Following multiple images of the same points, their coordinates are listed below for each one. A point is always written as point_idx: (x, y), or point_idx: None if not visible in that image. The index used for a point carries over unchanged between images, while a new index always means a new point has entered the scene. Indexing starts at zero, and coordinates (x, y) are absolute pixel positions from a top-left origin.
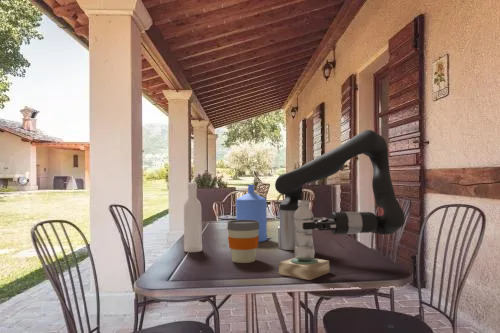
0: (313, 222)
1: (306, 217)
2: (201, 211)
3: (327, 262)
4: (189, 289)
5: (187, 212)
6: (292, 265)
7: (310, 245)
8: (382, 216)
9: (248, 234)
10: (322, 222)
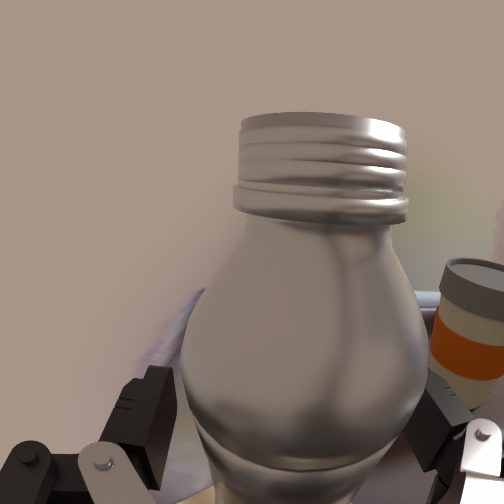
0: (118, 434)
1: (182, 349)
2: None
3: None
4: (179, 316)
5: (495, 225)
6: (212, 488)
7: None
8: None
9: (455, 318)
10: (25, 487)
